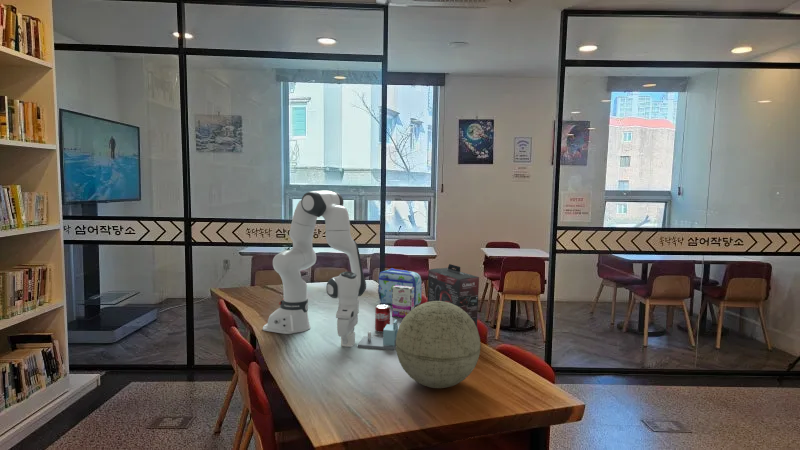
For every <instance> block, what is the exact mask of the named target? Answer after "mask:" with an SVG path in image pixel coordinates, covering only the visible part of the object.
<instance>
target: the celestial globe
mask: <svg viewBox="0 0 800 450" xmlns="http://www.w3.org/2000/svg"><path fill="white" fill-rule="evenodd" d="M395 352H396V355H397V359H398V361H399V363H400V365H401V367H402V369H403V371H404V372H405V373H406V374H407V375H408V376H409V377H410V378H411V379H412V380H414V381H415V382H416V383H418V384H420V385H422V386H425V387H428V388H431V389H445V388H450V387H453V386H456V385H457V384H459V383H461V382H463V381H464V380H465V379H466V378H467V377H468V376H470V375H471V373H472V372H473V370H474V369H475V367H476V365H477V364H478V361H479V357H480V353H481V338H480V334H479V330H478V326H477V327H476V325H475V323H474V321H473V320H472V319H471V317H470V316H469V315H468V314H467V313H466V312H465V311H464V310H462V309H461V308H460V307H458V306H456V305H454V304H452V303H448V302H443V301H431V302H428V301H426V302H423V303H420V304H419V305H416V306H414V309H412V310H411V311H410V312H409V313H408V314H407V315H406V316H405V317H404V318H402V320H401V322H400V323H399V325H398V332H397V336H396V347H395Z"/></svg>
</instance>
